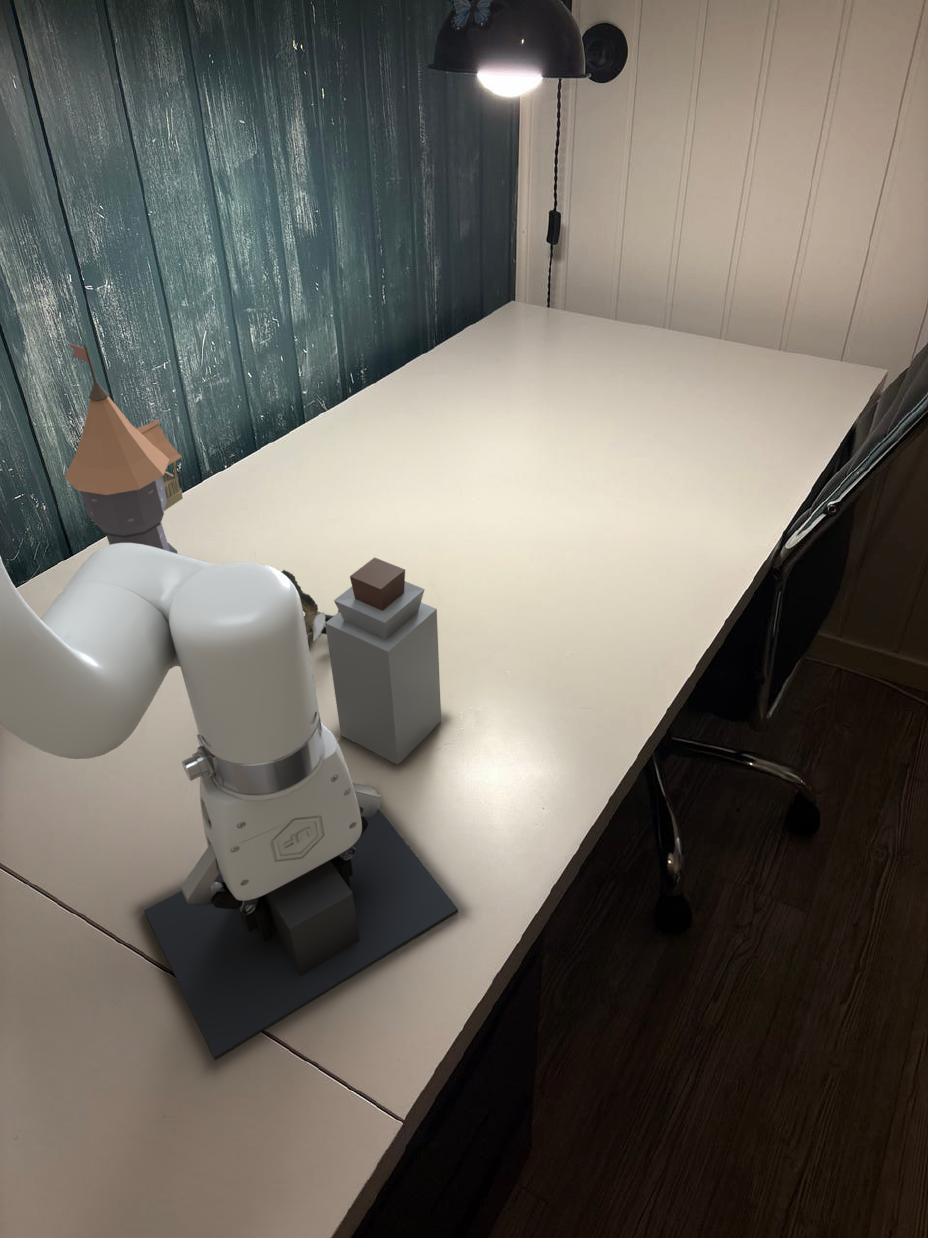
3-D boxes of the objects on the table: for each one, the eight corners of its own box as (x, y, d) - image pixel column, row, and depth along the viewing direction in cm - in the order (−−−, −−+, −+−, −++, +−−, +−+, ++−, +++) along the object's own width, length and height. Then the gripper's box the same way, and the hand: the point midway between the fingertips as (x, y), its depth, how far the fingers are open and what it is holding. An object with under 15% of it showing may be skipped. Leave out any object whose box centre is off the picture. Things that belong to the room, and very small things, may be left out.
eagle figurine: (362, 605, 99) (287, 579, 100) (353, 584, 93) (272, 556, 94) (336, 669, 97) (259, 642, 99) (324, 652, 91) (241, 623, 92)
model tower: (225, 589, 104) (168, 330, 85) (152, 642, 97) (72, 373, 78) (165, 564, 108) (98, 312, 89) (90, 613, 101) (1, 350, 82)
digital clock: (361, 939, 69) (354, 892, 65) (300, 976, 67) (289, 929, 63) (301, 850, 75) (292, 802, 71) (243, 881, 73) (230, 833, 69)
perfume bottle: (441, 720, 87) (434, 566, 76) (397, 765, 83) (384, 607, 72) (385, 693, 90) (371, 541, 79) (340, 735, 86) (319, 579, 75)
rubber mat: (215, 1059, 62) (214, 1057, 62) (144, 912, 71) (143, 910, 71) (458, 911, 71) (458, 909, 71) (367, 796, 80) (367, 794, 80)
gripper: (155, 843, 53) (213, 1004, 64) (408, 719, 61) (420, 883, 72) (113, 764, 58) (174, 926, 69) (352, 659, 65) (372, 821, 77)
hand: (299, 903), depth 70 cm, fingers open, 6 cm apart
